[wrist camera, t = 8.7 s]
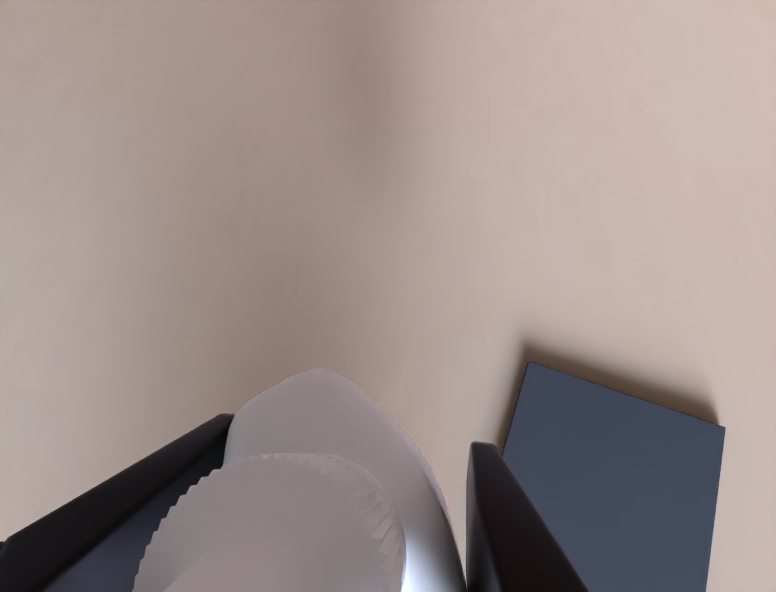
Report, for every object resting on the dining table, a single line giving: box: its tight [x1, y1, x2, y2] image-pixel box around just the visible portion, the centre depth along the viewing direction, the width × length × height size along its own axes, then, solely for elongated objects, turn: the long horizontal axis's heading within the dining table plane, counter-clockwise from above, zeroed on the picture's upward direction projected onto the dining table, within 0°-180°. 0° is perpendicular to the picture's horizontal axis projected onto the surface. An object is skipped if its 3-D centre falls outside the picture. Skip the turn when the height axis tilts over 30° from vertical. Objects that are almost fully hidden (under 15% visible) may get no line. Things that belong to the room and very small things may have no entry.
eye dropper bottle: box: [132, 368, 467, 592], centre depth 8 cm, size 4×6×12 cm
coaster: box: [502, 361, 725, 592], centre depth 18 cm, size 9×9×1 cm
